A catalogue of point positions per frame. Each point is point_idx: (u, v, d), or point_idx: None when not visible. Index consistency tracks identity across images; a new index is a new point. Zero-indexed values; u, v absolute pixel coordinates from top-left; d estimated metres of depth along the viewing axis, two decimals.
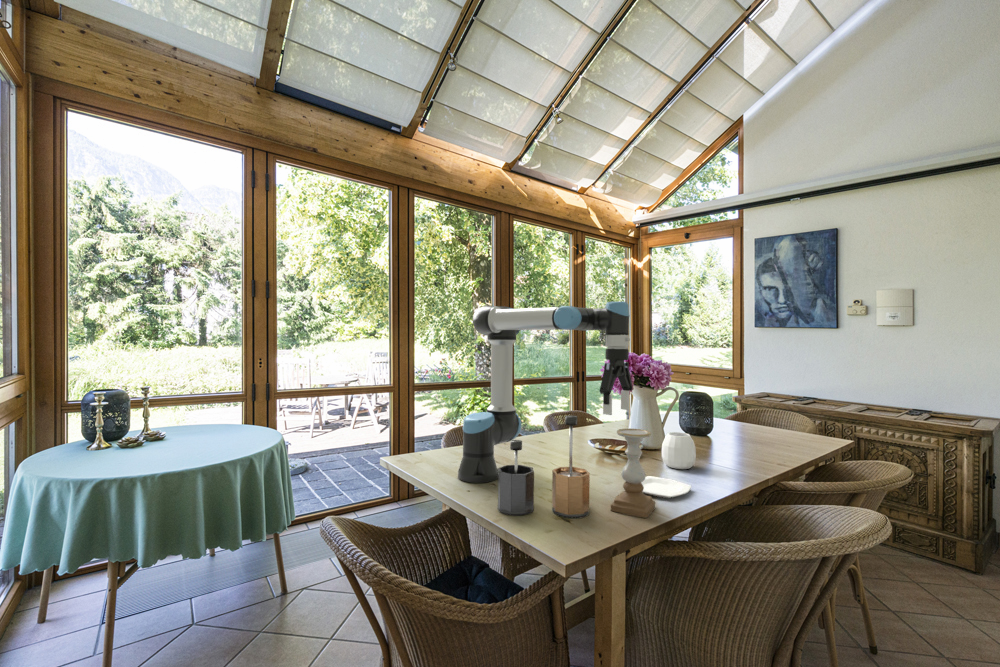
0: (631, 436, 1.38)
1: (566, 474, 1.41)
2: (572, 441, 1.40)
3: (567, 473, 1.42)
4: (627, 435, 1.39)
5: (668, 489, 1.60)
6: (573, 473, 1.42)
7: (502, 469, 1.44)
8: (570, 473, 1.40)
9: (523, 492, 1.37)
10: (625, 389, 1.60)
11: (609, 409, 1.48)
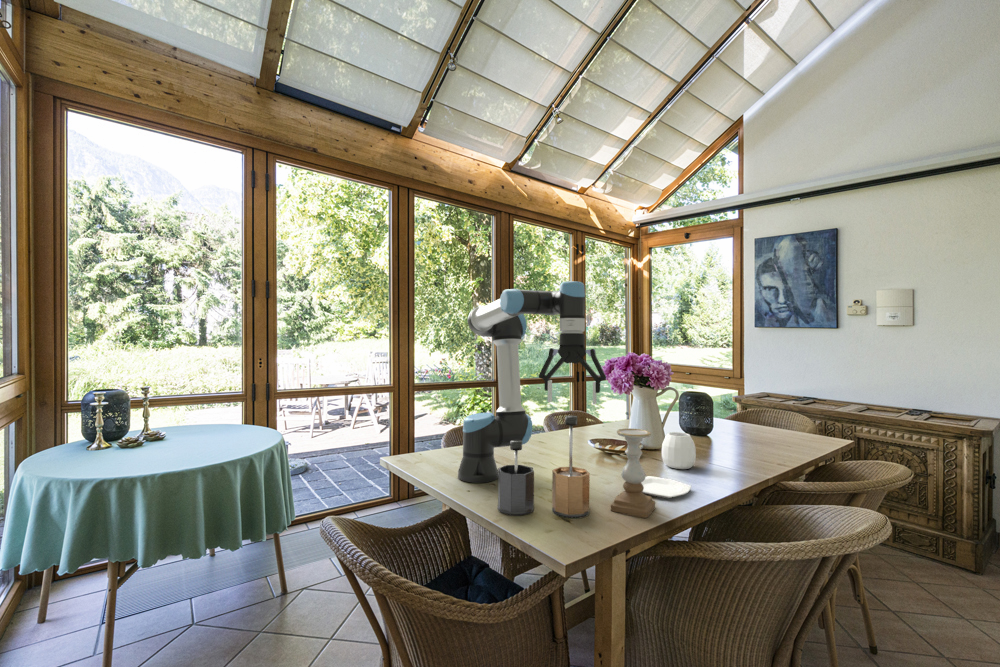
0: (631, 436, 1.38)
1: (566, 474, 1.41)
2: (572, 441, 1.40)
3: (567, 473, 1.42)
4: (627, 435, 1.39)
5: (668, 489, 1.60)
6: (573, 473, 1.42)
7: (502, 469, 1.44)
8: (570, 473, 1.40)
9: (523, 492, 1.37)
10: (595, 380, 1.38)
11: None
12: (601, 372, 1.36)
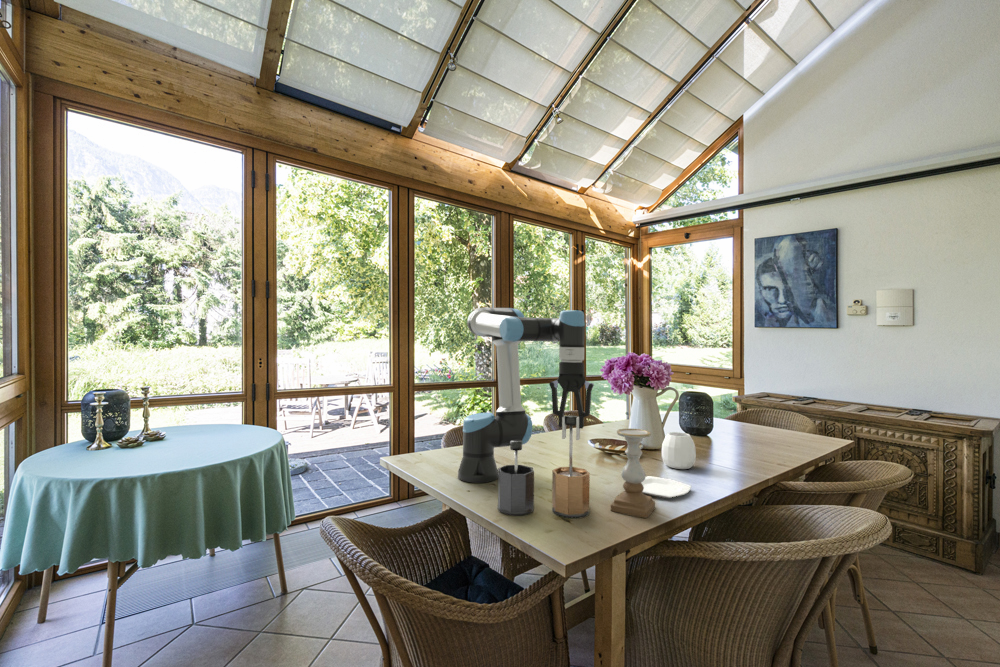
0: (631, 436, 1.38)
1: (566, 474, 1.41)
2: (572, 441, 1.40)
3: (567, 473, 1.42)
4: (627, 435, 1.39)
5: (668, 489, 1.60)
6: (573, 473, 1.42)
7: (502, 469, 1.44)
8: (570, 473, 1.40)
9: (523, 492, 1.37)
10: (579, 416, 1.40)
11: None
12: (587, 408, 1.38)
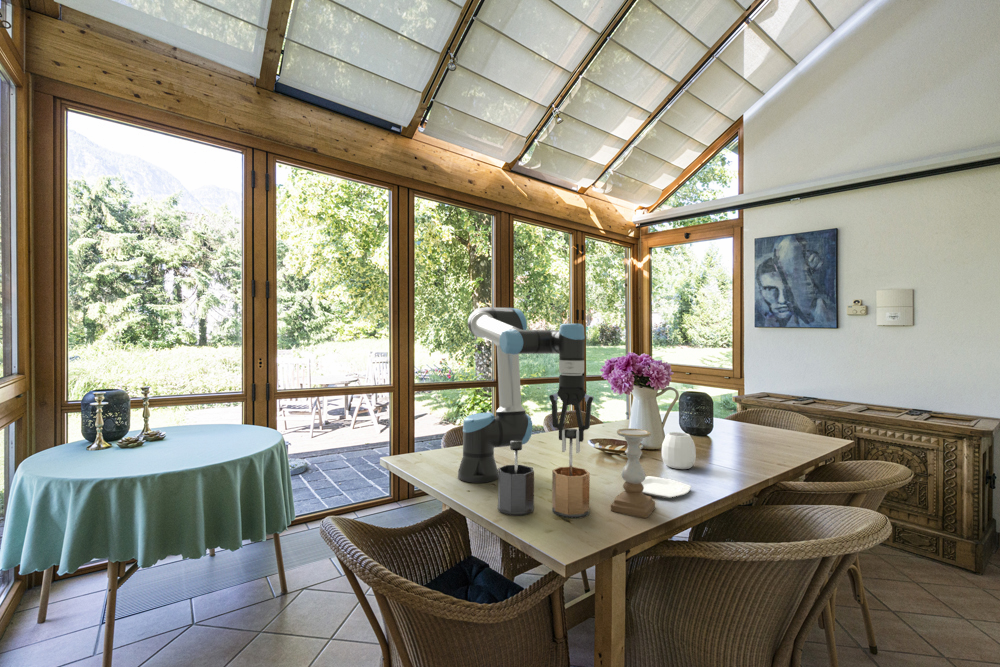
0: (631, 436, 1.38)
1: None
2: None
3: None
4: (627, 435, 1.39)
5: (668, 489, 1.60)
6: None
7: (502, 469, 1.44)
8: None
9: (523, 492, 1.37)
10: (579, 429, 1.40)
11: None
12: (587, 421, 1.38)
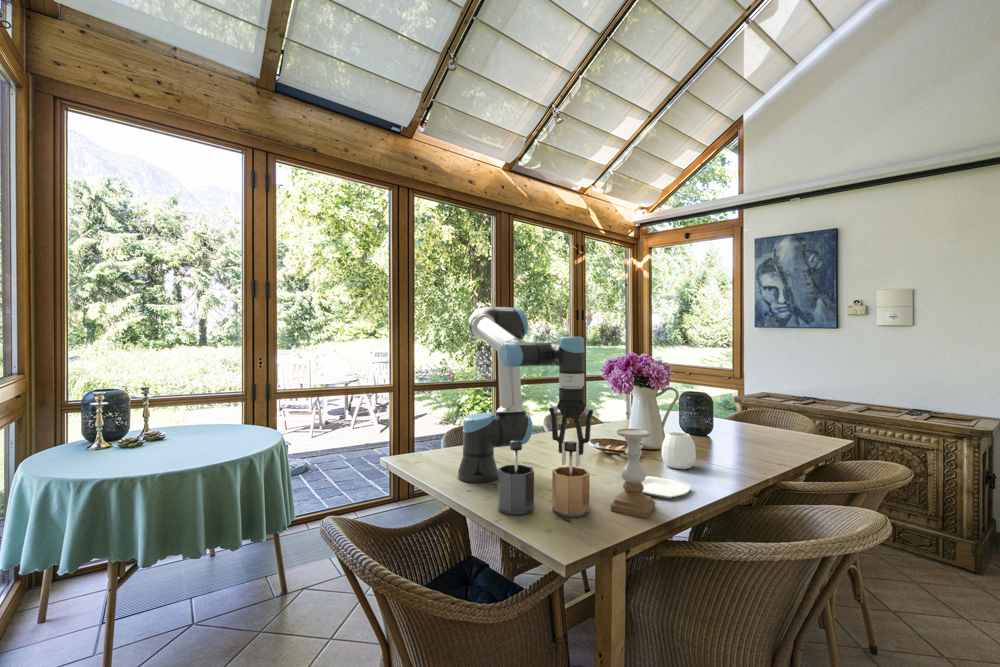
0: (631, 436, 1.38)
1: None
2: None
3: None
4: (627, 435, 1.39)
5: (668, 489, 1.60)
6: None
7: (502, 469, 1.44)
8: None
9: (523, 492, 1.37)
10: None
11: None
12: (587, 435, 1.38)
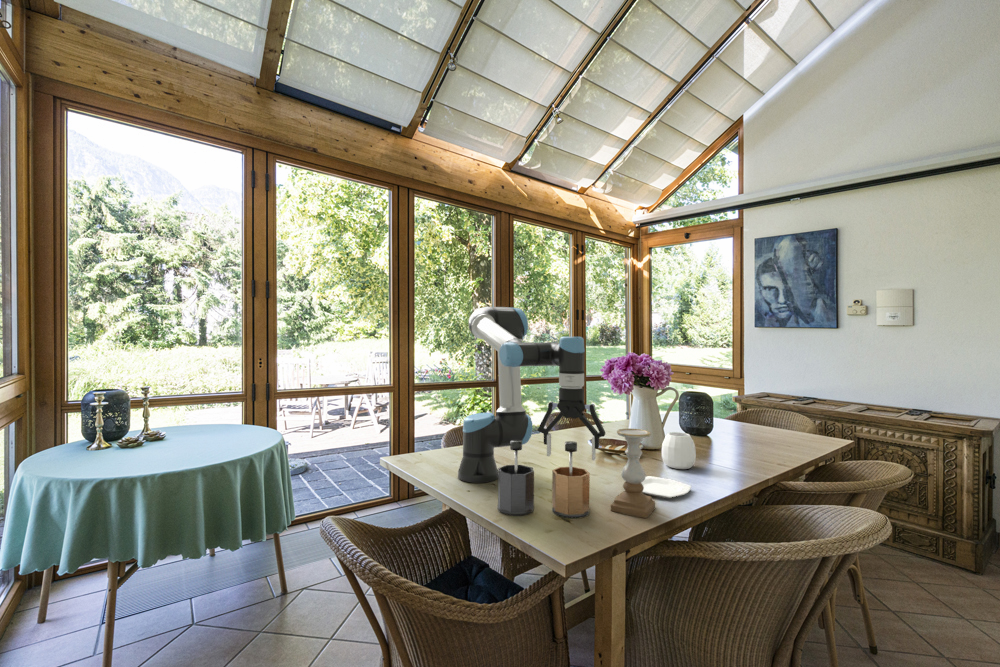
0: (631, 436, 1.38)
1: None
2: None
3: None
4: (627, 435, 1.39)
5: (668, 489, 1.60)
6: None
7: (502, 469, 1.44)
8: None
9: (523, 492, 1.37)
10: None
11: None
12: (600, 428, 1.37)
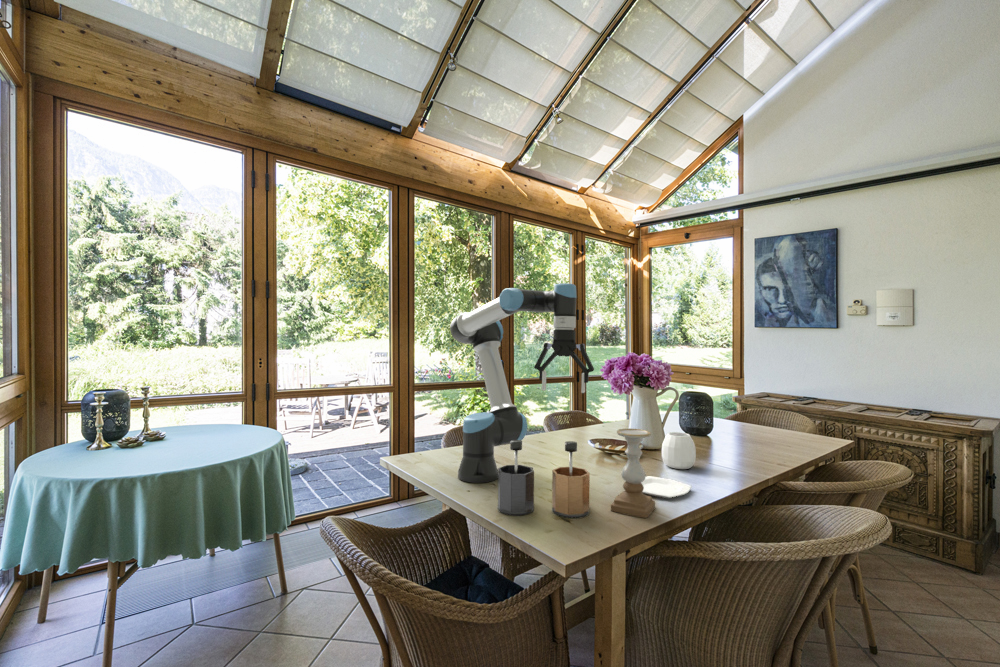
0: (631, 436, 1.38)
1: None
2: None
3: None
4: (627, 435, 1.39)
5: (668, 489, 1.60)
6: None
7: (502, 469, 1.44)
8: None
9: (523, 492, 1.37)
10: None
11: None
12: (589, 364, 1.54)
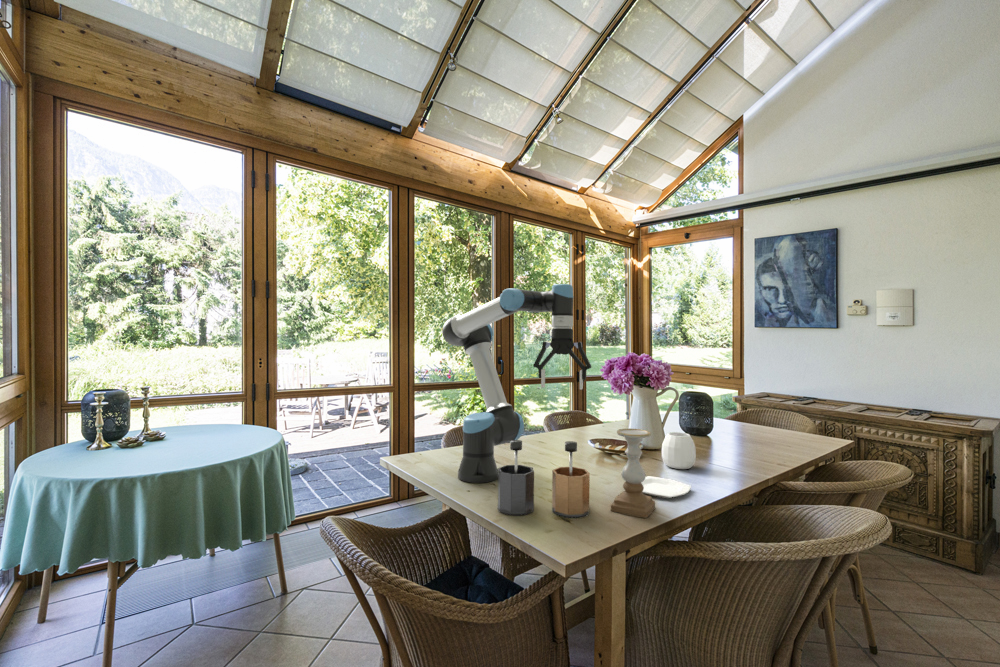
0: (631, 436, 1.38)
1: None
2: None
3: None
4: (627, 435, 1.39)
5: (668, 489, 1.60)
6: None
7: (502, 469, 1.44)
8: None
9: (523, 492, 1.37)
10: (582, 369, 1.61)
11: None
12: (587, 362, 1.60)
